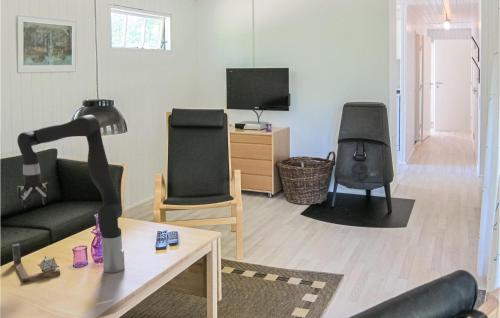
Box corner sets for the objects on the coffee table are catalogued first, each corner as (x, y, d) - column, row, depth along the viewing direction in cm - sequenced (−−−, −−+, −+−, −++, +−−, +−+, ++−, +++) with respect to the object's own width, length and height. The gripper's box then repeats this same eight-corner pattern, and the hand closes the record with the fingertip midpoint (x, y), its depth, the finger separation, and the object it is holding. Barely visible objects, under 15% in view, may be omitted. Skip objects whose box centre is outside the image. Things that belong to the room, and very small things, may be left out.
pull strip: (47, 257, 251) (46, 238, 249) (60, 274, 230) (58, 254, 228) (13, 264, 242) (11, 244, 241) (23, 283, 221) (21, 261, 219)
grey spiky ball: (48, 282, 230) (38, 272, 223) (41, 271, 236) (31, 260, 228) (65, 270, 234) (55, 259, 226) (57, 259, 239) (48, 248, 232)
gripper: (17, 176, 228) (20, 209, 231) (49, 172, 236) (51, 204, 239) (14, 173, 234) (17, 205, 237) (45, 169, 242) (48, 201, 245)
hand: (34, 205), depth 238 cm, fingers open, 8 cm apart
